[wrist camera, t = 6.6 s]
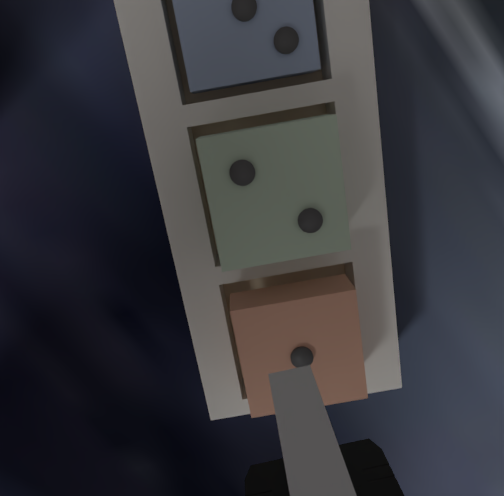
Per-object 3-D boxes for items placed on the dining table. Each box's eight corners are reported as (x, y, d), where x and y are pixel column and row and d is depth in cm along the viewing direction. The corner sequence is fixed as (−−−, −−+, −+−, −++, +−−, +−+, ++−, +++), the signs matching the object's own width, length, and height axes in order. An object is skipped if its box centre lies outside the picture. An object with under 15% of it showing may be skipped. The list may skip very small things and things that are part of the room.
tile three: (194, 93, 23) (189, 91, 20) (167, -42, 21) (159, -61, 19) (312, 72, 23) (321, 68, 20) (295, -65, 21) (303, -87, 19)
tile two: (223, 257, 23) (222, 273, 21) (199, 136, 21) (195, 139, 19) (340, 236, 23) (352, 250, 21) (326, 114, 21) (337, 114, 19)
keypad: (213, 386, 29) (210, 420, 26) (113, -58, 22) (93, -88, 19) (383, 356, 29) (402, 387, 26) (338, -99, 22) (357, -136, 19)
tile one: (249, 392, 25) (251, 420, 23) (230, 293, 24) (229, 313, 21) (356, 374, 25) (369, 400, 23) (344, 273, 24) (357, 291, 21)
